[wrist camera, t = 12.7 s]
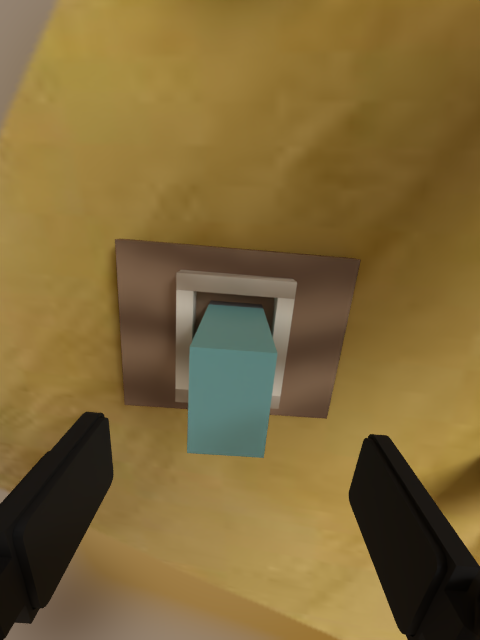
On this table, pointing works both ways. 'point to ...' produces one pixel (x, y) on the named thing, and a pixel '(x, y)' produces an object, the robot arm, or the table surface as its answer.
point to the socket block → (231, 286)
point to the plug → (230, 381)
